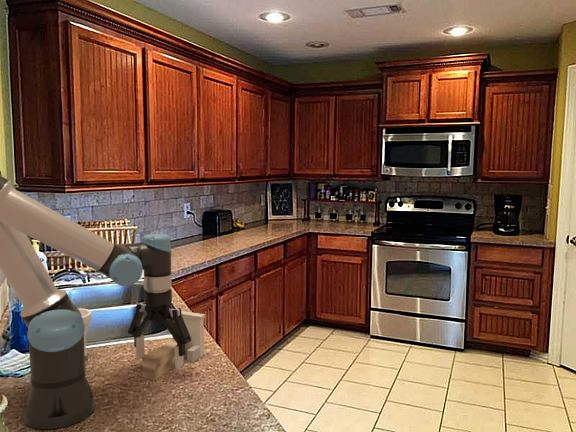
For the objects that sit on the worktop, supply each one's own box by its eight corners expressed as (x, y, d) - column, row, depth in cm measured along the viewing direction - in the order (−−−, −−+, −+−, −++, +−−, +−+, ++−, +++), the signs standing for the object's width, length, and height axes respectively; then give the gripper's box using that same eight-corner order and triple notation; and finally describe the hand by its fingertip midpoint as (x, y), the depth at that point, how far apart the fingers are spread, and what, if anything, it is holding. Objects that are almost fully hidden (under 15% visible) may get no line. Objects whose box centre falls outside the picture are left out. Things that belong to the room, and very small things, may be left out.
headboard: (194, 362, 143) (193, 320, 141) (164, 356, 147) (163, 315, 146) (205, 355, 149) (205, 314, 147) (176, 349, 153) (175, 309, 151)
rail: (154, 380, 132) (153, 359, 131) (142, 377, 133) (141, 356, 132) (188, 358, 146) (188, 339, 146) (177, 356, 148) (177, 337, 147)
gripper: (203, 291, 133) (204, 364, 135) (132, 281, 143) (134, 350, 145) (187, 298, 126) (188, 375, 128) (113, 287, 136) (116, 359, 138)
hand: (159, 362), depth 137 cm, fingers open, 13 cm apart
